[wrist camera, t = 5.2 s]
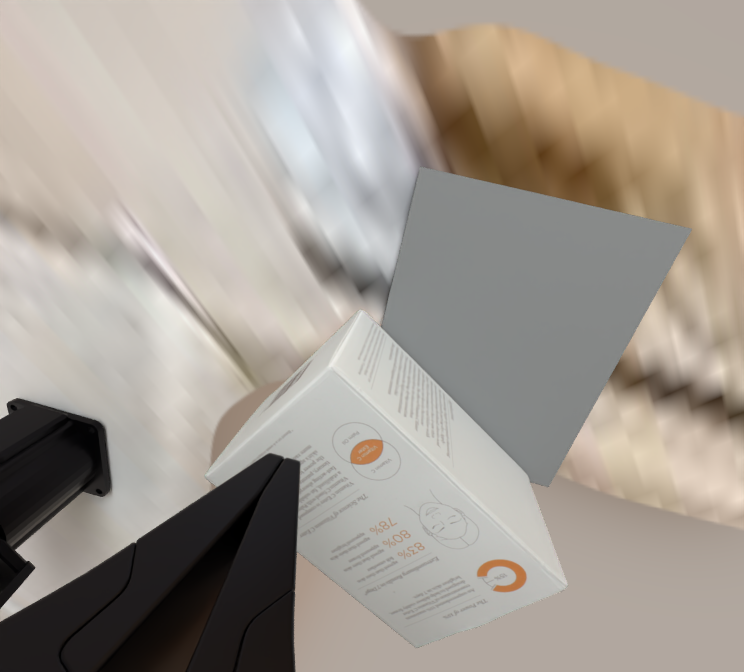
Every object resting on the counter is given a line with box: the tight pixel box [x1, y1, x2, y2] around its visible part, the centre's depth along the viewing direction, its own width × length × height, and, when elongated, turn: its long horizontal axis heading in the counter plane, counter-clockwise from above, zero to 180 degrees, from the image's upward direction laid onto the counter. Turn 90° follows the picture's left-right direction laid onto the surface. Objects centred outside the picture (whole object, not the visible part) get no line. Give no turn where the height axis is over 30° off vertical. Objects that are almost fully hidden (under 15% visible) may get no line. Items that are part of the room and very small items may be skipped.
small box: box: [205, 309, 568, 648], centre depth 17 cm, size 8×6×13 cm
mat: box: [381, 167, 692, 487], centre depth 17 cm, size 14×11×1 cm
